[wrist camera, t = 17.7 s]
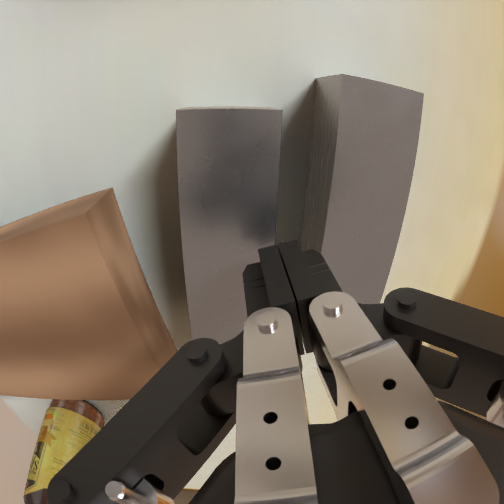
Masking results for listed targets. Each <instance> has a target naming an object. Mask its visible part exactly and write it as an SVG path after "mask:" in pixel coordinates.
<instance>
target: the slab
mask: <svg viewBox="0 0 504 504" xmlns="http://www.w3.org/2000/svg"><path fill="white" fill-rule="evenodd" d="M176 352H177V349H176V347H175V345H174V343H173V341H172V339H171V337H170V334H169V332H168V330H167V328H166V326H165V324H164V321H163V319H162V317H161V315H160V312H159V310H158V308H157V305H156V303H155V301H154V298H153V296H152V294H151V291H150V289H149V287H148V284H147V282H146V279H145V277H144V274H143V272H142V269H141V267H140V264H139V262H138V259H137V256H136V254H135V251H134V249H133V246H132V243H131V240H130V238H129V235H128V232H127V229H126V227H125V224H124V221H123V218H122V215H121V212H120V209H119V206H118V203H117V200H116V197H115V194H114V191H113V188H109V189H106V190H102V191H99V192H96V193H93V194H90V195H86V196H83V197H80V198H77V199H74V200H71V201H68V202H65V203H63V204H60V205H57V206H54V207H51V208H48V209H46V210H43V211H40V212H38V213H35V214H32V215H30V216H27V217H24V218H22V219H19V220H17V221H14V222H12V223H9V224H7V225H4V226H2V227H0V395H8V396H17V397H29V398H43V399H63V400H121V399H132V398H133V397H134V396H135V394H136V393H137V392H138V391H139V390H140V389H141V388H142V387H143V386H144V385H145V384H146V383H147V382H148V381H149V380H150V379H151V378H152V377H153V376H154V375H155V374H156V373H157V372H158V371H159V370H160V369H161V368H162V367H163V366H164V365H165V364H166V363H167V362H168V361H169V360H170V359H171V358H172V357H173V356H174V355H175V353H176Z"/></svg>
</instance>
